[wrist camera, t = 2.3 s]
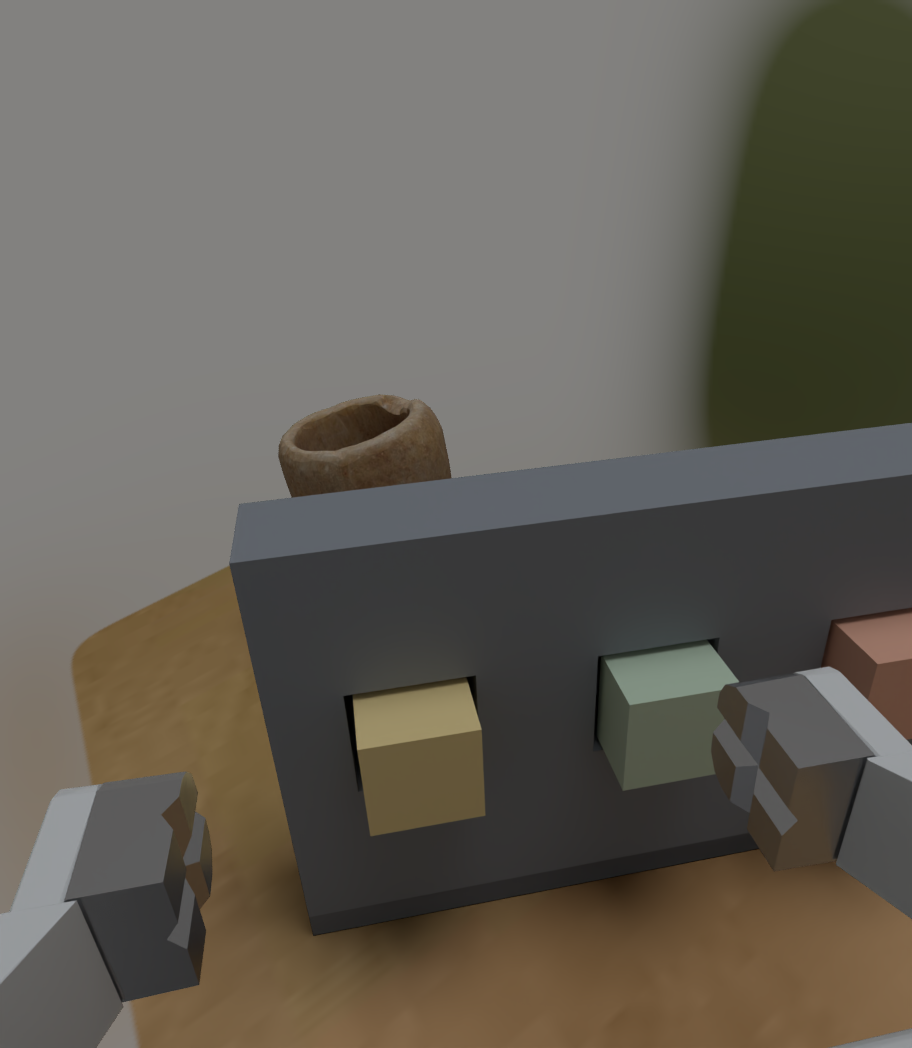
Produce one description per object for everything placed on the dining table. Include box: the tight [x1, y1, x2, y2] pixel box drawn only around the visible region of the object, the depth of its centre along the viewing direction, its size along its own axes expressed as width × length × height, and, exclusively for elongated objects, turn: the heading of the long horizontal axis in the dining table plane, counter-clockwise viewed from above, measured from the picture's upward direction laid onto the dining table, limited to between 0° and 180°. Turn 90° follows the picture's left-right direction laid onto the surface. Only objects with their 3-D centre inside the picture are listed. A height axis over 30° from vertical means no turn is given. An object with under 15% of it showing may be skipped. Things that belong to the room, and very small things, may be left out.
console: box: [229, 423, 912, 935], centre depth 31 cm, size 6×28×18 cm, turn 100°
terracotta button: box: [821, 608, 912, 740], centre depth 29 cm, size 3×4×4 cm
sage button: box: [597, 639, 739, 791], centre depth 28 cm, size 3×4×4 cm
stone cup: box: [279, 395, 451, 498], centre depth 46 cm, size 15×12×15 cm
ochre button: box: [353, 677, 485, 836], centre depth 26 cm, size 3×4×4 cm
